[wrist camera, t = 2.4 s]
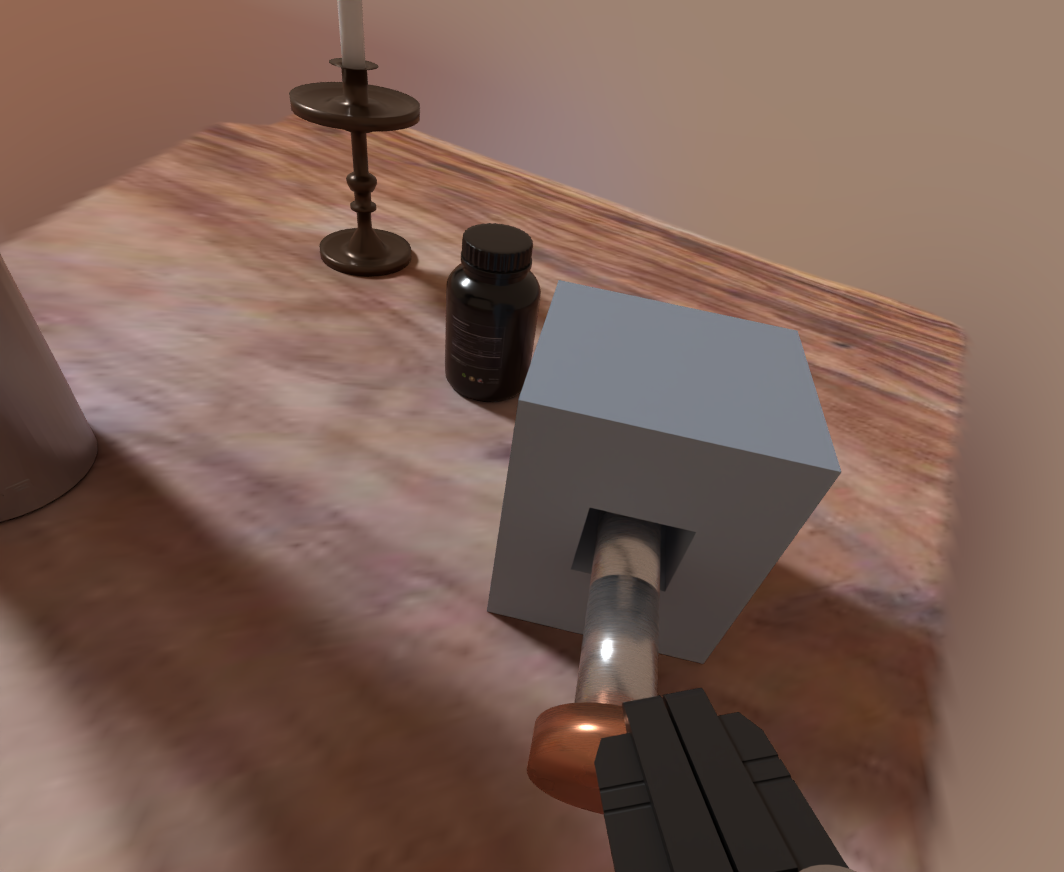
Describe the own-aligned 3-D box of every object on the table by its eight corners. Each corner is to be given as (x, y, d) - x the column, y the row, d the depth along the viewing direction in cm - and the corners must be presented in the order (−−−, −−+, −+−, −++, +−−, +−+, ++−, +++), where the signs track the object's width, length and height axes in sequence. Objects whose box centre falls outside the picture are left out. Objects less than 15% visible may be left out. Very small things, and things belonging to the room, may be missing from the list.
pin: (667, 831, 21) (721, 781, 17) (517, 792, 21) (538, 734, 17) (670, 465, 35) (700, 394, 32) (581, 444, 36) (600, 372, 32)
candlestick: (385, 291, 55) (359, -288, 31) (287, 260, 56) (193, -309, 33) (437, 250, 62) (448, -239, 39) (350, 223, 64) (310, -257, 41)
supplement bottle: (463, 345, 50) (471, 207, 42) (537, 367, 49) (561, 231, 41) (429, 389, 45) (431, 242, 37) (511, 415, 44) (532, 270, 36)
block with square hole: (703, 663, 31) (841, 472, 21) (486, 611, 31) (518, 399, 21) (697, 522, 38) (797, 330, 28) (522, 482, 39) (558, 280, 29)
